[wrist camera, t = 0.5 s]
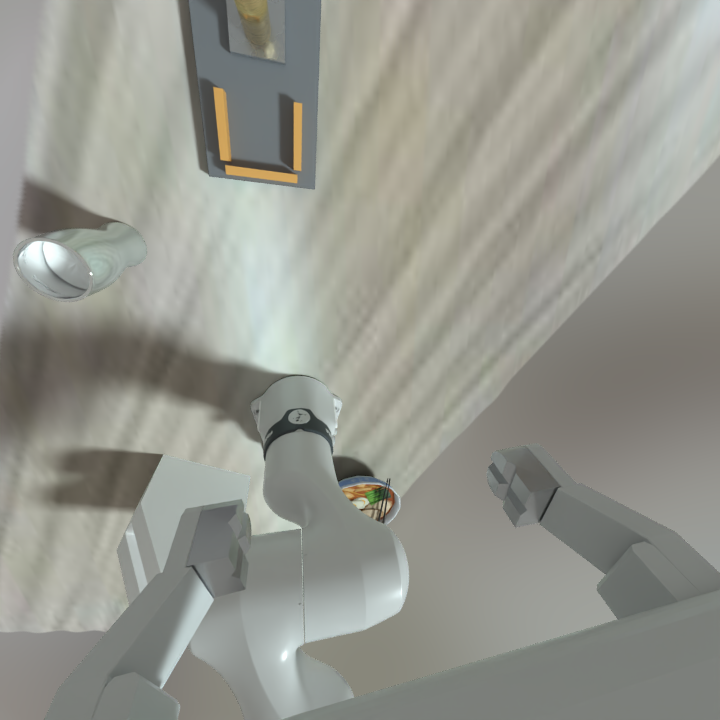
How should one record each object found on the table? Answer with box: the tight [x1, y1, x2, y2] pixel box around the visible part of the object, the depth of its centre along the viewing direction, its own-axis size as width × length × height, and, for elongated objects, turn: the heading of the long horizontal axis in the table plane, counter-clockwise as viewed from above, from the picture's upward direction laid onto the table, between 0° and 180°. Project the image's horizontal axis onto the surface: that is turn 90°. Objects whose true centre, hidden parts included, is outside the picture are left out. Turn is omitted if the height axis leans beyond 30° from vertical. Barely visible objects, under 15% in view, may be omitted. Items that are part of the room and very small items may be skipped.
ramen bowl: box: [338, 476, 400, 525], centre depth 79 cm, size 25×23×8 cm
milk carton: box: [117, 454, 250, 606], centre depth 60 cm, size 19×15×25 cm
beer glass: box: [13, 222, 147, 302], centre depth 37 cm, size 7×7×15 cm
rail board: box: [188, 0, 321, 189], centre depth 35 cm, size 24×14×4 cm, turn 173°
